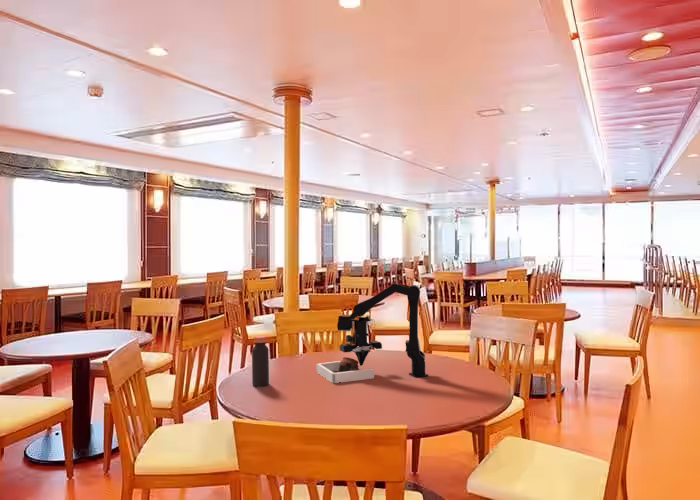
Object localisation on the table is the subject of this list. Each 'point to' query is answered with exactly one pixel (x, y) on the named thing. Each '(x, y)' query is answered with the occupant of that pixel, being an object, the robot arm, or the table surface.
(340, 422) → the table surface
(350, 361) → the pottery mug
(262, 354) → the bottle
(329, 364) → the frame
